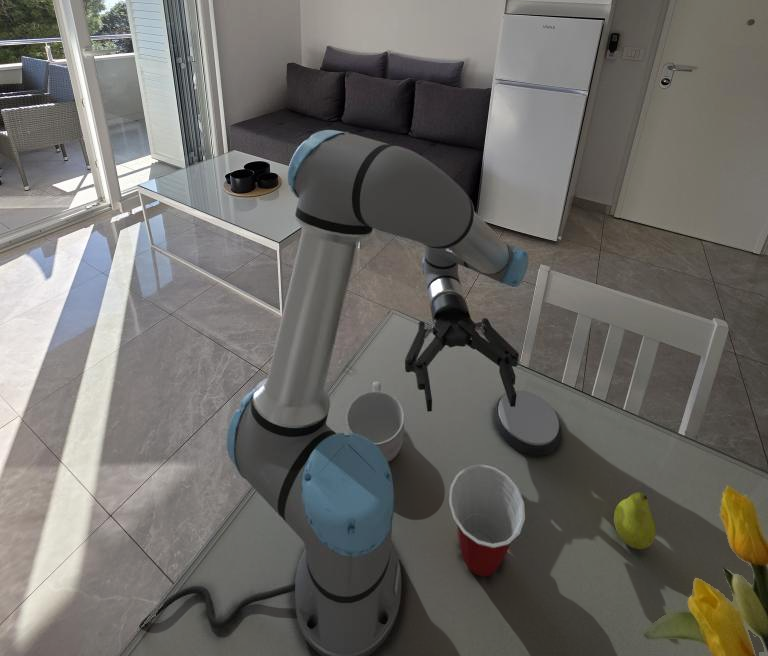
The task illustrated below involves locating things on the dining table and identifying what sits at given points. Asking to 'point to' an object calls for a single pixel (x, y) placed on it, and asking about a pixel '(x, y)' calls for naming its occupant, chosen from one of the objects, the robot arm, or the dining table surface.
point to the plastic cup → (485, 516)
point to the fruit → (635, 521)
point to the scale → (528, 424)
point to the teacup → (378, 420)
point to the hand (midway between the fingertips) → (471, 403)
